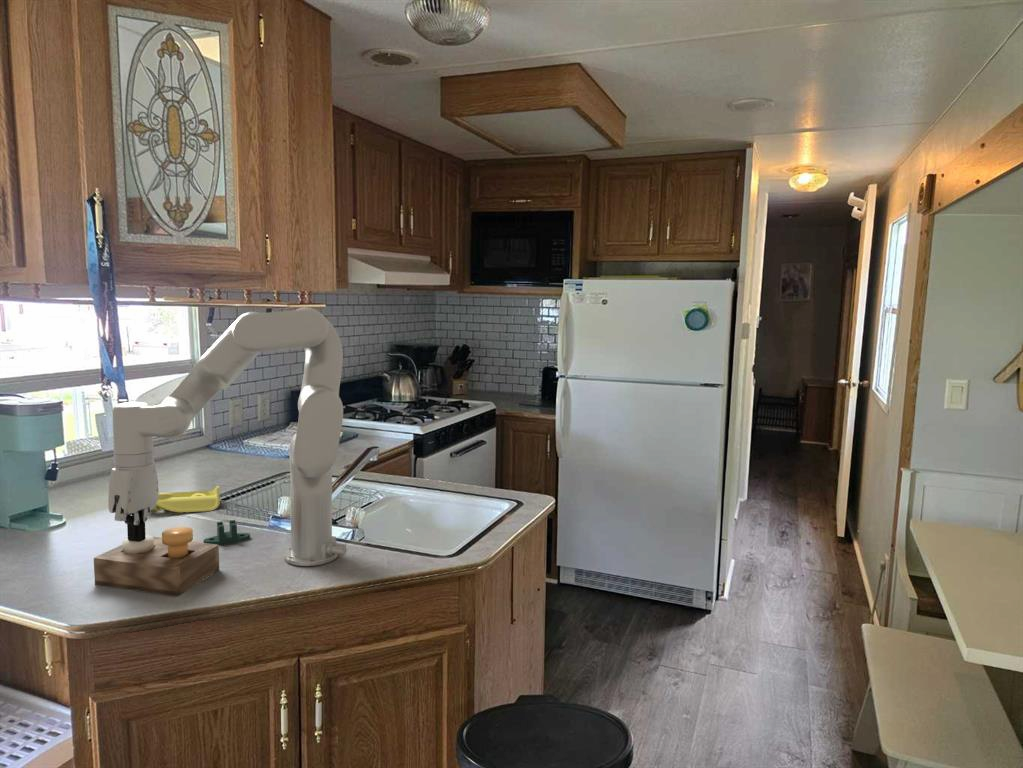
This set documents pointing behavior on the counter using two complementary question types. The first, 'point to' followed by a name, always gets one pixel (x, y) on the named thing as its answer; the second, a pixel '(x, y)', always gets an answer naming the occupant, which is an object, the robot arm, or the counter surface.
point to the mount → (227, 535)
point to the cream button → (138, 545)
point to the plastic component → (188, 501)
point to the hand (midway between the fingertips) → (136, 539)
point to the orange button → (177, 541)
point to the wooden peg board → (156, 568)
